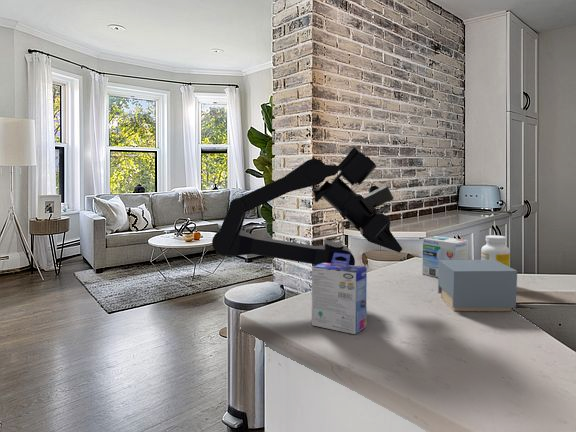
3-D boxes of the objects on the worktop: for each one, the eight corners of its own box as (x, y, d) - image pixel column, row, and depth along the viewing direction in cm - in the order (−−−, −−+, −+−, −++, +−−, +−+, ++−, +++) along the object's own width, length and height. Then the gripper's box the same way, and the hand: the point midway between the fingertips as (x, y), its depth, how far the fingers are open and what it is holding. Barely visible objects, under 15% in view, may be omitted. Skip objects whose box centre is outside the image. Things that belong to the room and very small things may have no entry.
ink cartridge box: (368, 326, 81) (368, 254, 80) (357, 336, 77) (356, 260, 75) (324, 317, 87) (323, 250, 85) (311, 326, 82) (309, 255, 80)
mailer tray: (453, 310, 89) (454, 299, 89) (441, 297, 98) (441, 287, 98) (511, 310, 88) (511, 299, 88) (493, 297, 97) (493, 287, 97)
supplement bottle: (511, 284, 108) (513, 236, 106) (504, 290, 103) (506, 239, 102) (485, 280, 112) (486, 233, 111) (476, 285, 108) (478, 237, 106)
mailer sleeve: (453, 307, 88) (453, 271, 87) (437, 292, 99) (438, 260, 98) (515, 307, 87) (517, 270, 86) (493, 292, 98) (494, 259, 97)
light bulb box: (421, 274, 120) (421, 238, 119) (434, 270, 124) (435, 235, 123) (455, 281, 111) (456, 242, 110) (468, 277, 115) (469, 239, 114)
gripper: (377, 174, 82) (434, 226, 83) (363, 173, 101) (410, 216, 101) (339, 215, 83) (395, 266, 84) (333, 207, 102) (379, 248, 103)
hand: (396, 246), depth 93 cm, fingers open, 9 cm apart
